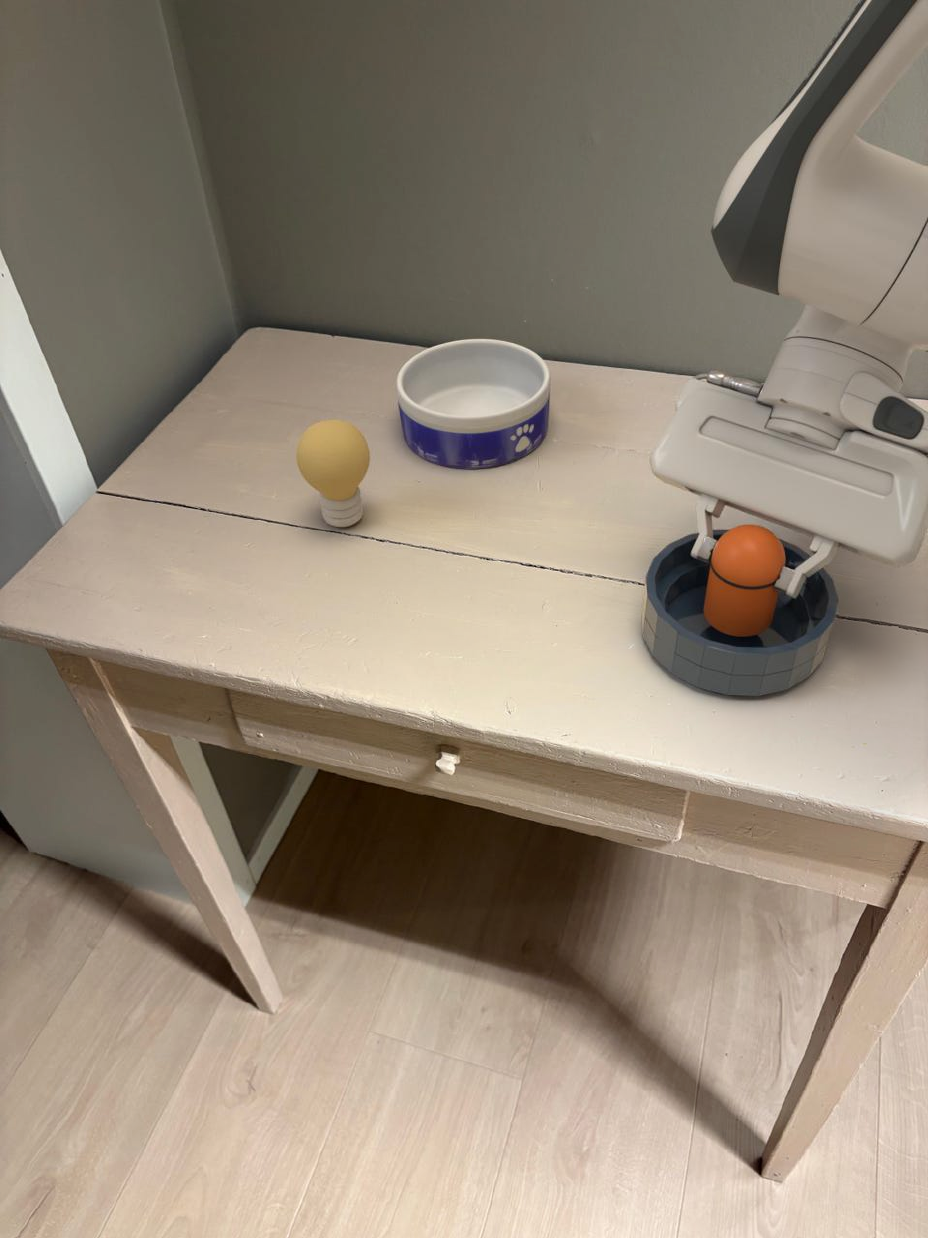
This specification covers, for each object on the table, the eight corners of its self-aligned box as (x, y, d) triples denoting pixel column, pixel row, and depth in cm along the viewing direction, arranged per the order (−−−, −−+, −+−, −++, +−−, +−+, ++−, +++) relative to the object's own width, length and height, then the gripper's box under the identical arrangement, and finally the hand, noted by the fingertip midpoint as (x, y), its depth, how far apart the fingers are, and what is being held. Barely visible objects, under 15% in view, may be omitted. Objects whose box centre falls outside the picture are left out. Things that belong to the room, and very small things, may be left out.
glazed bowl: (862, 651, 74) (879, 604, 70) (724, 729, 69) (734, 682, 65) (736, 554, 83) (745, 508, 79) (605, 617, 78) (609, 571, 74)
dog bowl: (491, 488, 91) (489, 434, 87) (370, 439, 98) (363, 387, 94) (578, 415, 100) (580, 363, 95) (461, 375, 107) (458, 324, 102)
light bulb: (310, 501, 91) (292, 409, 84) (377, 495, 91) (365, 403, 84) (308, 543, 86) (289, 450, 80) (379, 537, 87) (365, 443, 80)
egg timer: (788, 619, 73) (808, 538, 68) (735, 647, 71) (751, 565, 66) (739, 581, 77) (755, 501, 71) (688, 607, 75) (700, 526, 69)
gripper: (683, 349, 72) (607, 520, 73) (966, 431, 62) (872, 627, 63) (704, 377, 77) (633, 535, 79) (968, 456, 67) (881, 636, 69)
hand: (742, 577), depth 71 cm, fingers closed on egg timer, 5 cm apart
